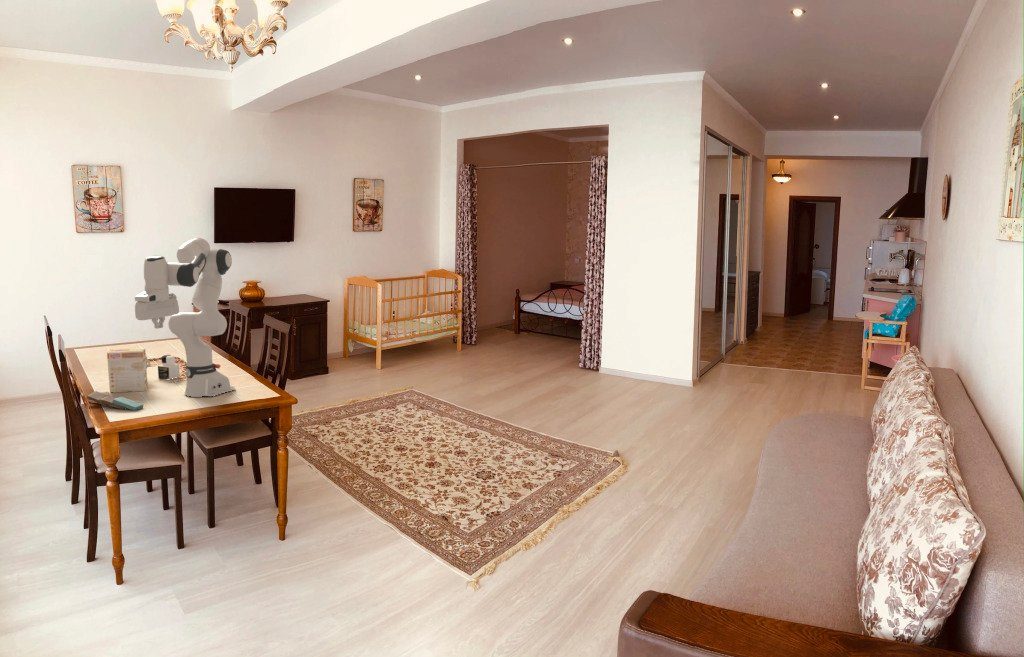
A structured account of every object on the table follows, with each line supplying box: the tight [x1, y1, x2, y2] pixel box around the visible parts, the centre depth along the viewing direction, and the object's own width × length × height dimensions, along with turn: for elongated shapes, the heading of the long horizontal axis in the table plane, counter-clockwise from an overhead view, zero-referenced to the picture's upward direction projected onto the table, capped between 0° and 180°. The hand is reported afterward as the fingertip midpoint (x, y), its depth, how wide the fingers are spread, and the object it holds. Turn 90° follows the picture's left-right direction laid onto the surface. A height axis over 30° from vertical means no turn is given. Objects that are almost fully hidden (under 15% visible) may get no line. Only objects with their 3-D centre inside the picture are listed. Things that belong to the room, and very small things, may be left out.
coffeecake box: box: [106, 348, 149, 393], centre depth 319 cm, size 15×7×20 cm, turn 108°
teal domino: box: [112, 396, 144, 411], centre depth 292 cm, size 2×5×11 cm
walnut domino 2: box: [99, 391, 113, 397], centre depth 303 cm, size 2×5×11 cm
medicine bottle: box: [157, 354, 181, 380], centre depth 344 cm, size 7×7×12 cm
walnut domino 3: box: [99, 396, 127, 410], centre depth 292 cm, size 2×5×11 cm
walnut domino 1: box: [86, 390, 114, 407], centre depth 296 cm, size 2×5×11 cm
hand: (158, 328), depth 281 cm, fingers closed
